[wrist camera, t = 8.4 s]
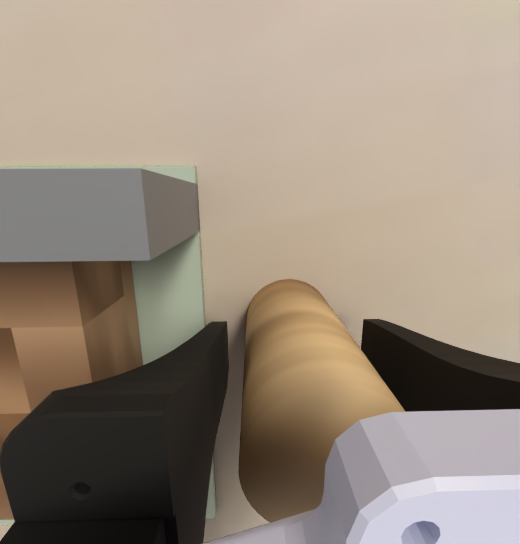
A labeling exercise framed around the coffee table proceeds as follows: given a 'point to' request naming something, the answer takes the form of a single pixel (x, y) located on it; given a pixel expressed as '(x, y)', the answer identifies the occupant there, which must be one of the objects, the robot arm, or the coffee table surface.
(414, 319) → the coffee table surface
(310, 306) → the oak dowel
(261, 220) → the coffee table surface
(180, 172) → the sage rubber mat
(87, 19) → the coffee table surface
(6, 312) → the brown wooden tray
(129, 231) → the slate stop wall
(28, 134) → the coffee table surface
